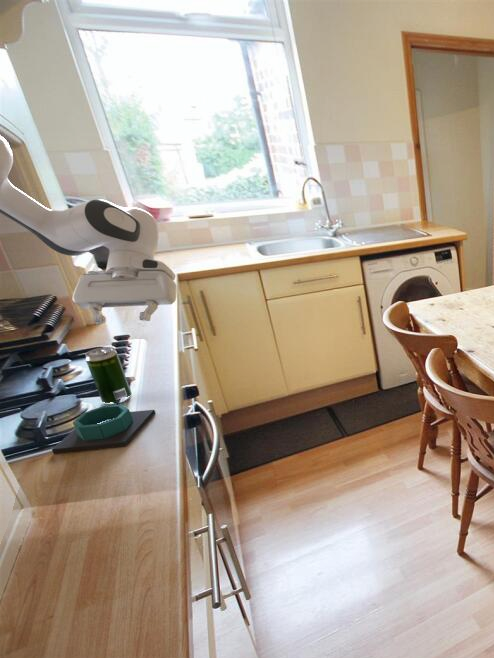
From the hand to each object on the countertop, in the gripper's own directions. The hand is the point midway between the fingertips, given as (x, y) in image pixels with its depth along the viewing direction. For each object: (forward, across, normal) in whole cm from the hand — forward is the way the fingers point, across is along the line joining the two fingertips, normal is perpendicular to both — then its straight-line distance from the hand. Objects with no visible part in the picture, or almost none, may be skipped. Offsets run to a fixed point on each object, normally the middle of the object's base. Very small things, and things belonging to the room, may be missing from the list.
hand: (121, 321), depth 109 cm
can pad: (+28, +5, -7) cm, 29 cm away
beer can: (+18, 0, +3) cm, 18 cm away
